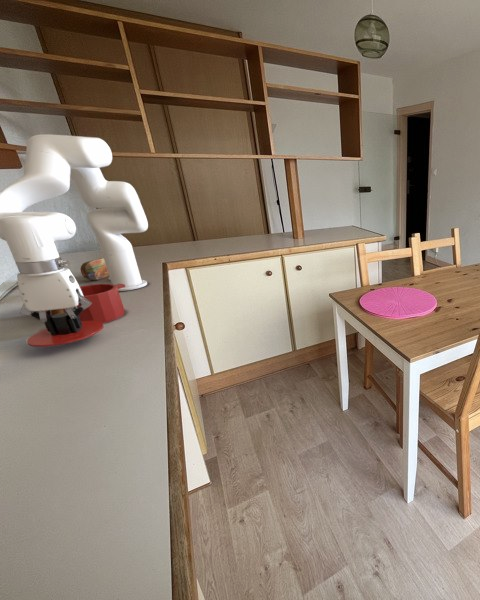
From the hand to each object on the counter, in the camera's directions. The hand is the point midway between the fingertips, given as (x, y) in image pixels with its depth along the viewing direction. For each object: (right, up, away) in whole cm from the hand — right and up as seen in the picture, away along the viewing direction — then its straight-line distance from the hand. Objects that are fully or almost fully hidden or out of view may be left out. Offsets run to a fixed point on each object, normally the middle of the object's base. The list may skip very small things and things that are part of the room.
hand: (66, 331), depth 85 cm
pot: (-8, +3, +17) cm, 19 cm away
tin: (-44, +19, +57) cm, 74 cm away
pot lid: (0, -1, 0) cm, 1 cm away
